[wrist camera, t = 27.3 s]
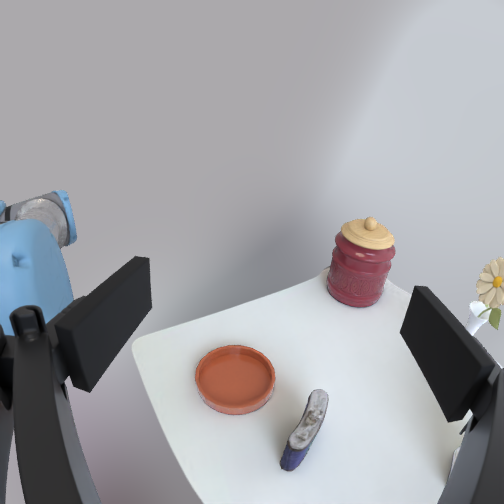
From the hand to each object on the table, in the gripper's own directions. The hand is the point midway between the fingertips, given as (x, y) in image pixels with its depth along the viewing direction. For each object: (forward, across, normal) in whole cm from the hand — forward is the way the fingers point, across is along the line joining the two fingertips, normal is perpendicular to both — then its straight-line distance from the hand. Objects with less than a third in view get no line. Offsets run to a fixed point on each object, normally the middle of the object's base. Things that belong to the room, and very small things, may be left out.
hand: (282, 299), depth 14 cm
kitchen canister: (+48, +19, -20) cm, 55 cm away
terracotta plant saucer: (+22, -4, -27) cm, 35 cm away
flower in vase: (+25, +36, -25) cm, 50 cm away
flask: (+12, +6, -29) cm, 32 cm away
